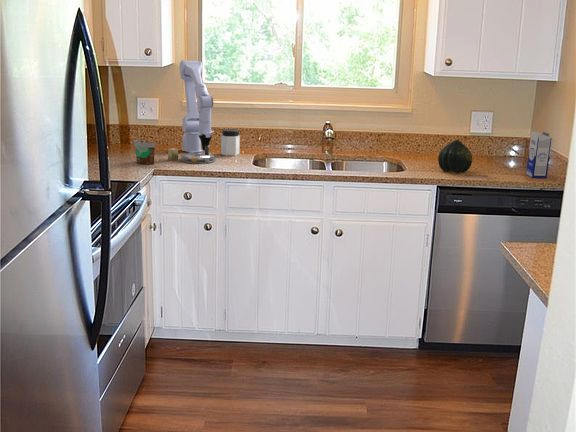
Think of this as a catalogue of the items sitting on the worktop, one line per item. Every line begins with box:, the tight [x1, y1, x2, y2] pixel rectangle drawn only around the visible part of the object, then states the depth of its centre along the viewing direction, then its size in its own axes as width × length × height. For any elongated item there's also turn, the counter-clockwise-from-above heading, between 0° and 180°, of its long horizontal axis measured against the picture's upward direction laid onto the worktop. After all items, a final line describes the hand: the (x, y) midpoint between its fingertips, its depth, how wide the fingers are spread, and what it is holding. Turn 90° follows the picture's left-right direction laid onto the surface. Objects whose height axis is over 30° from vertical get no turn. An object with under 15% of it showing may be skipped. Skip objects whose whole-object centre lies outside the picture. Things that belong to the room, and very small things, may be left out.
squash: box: [437, 139, 473, 175], centre depth 297 cm, size 14×15×15 cm
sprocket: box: [180, 144, 216, 162], centre depth 304 cm, size 15×15×6 cm
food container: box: [133, 138, 157, 166], centre depth 292 cm, size 12×6×10 cm, turn 47°
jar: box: [220, 128, 241, 157], centre depth 320 cm, size 9×8×12 cm
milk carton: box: [525, 130, 553, 179], centre depth 291 cm, size 7×7×20 cm
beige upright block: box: [167, 147, 179, 162], centre depth 304 cm, size 3×3×5 cm
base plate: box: [180, 157, 216, 165], centre depth 304 cm, size 16×16×1 cm
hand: (205, 150), depth 311 cm, fingers closed
